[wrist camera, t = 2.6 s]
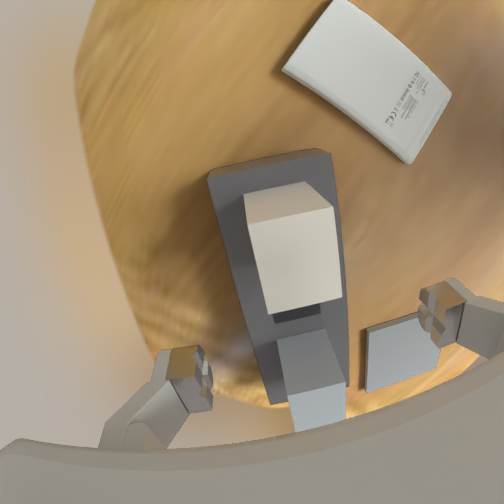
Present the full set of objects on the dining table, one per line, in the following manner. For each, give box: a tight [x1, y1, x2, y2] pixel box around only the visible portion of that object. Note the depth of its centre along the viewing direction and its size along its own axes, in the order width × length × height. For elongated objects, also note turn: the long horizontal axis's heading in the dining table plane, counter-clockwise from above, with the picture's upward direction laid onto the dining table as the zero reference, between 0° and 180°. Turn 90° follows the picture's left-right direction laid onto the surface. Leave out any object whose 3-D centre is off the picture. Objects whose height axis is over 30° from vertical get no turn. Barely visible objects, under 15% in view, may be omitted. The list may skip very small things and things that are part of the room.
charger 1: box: [243, 181, 342, 315], centre depth 18 cm, size 4×5×8 cm
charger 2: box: [277, 329, 346, 432], centre depth 22 cm, size 4×5×6 cm
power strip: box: [207, 148, 349, 405], centre depth 24 cm, size 8×22×4 cm, turn 12°
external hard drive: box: [281, 0, 452, 165], centre depth 19 cm, size 2×8×12 cm
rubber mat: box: [364, 312, 441, 393], centre depth 31 cm, size 10×10×1 cm
